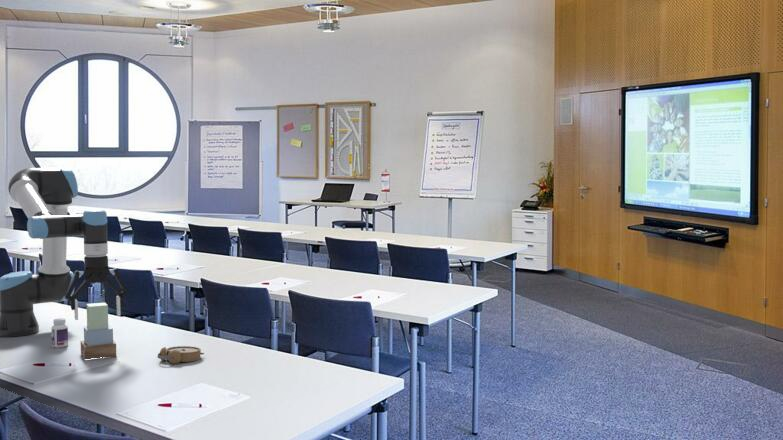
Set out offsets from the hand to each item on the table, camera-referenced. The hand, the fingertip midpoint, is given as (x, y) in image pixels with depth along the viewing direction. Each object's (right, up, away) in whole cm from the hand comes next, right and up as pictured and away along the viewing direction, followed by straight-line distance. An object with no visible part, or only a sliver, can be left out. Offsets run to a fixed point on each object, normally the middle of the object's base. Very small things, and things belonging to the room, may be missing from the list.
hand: (97, 317), depth 257 cm
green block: (0, -4, 0) cm, 4 cm away
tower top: (0, -9, +1) cm, 9 cm away
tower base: (0, -14, +1) cm, 14 cm away
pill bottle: (-19, -12, +14) cm, 27 cm away
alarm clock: (+29, -14, -4) cm, 33 cm away
